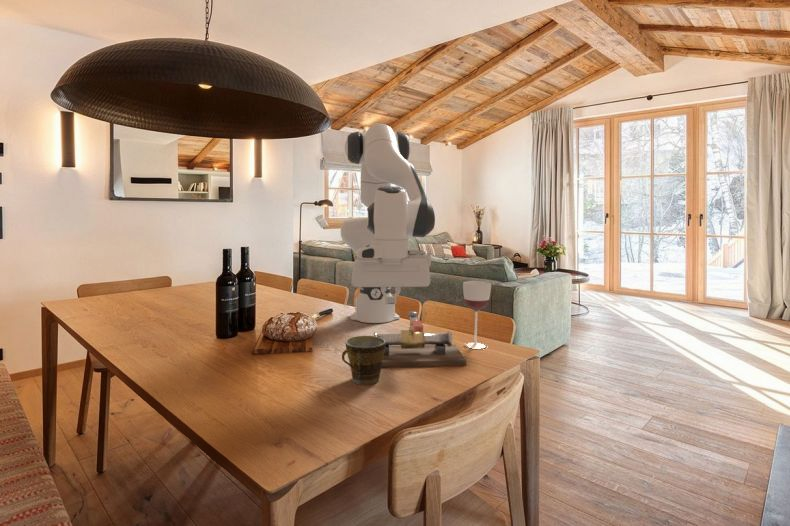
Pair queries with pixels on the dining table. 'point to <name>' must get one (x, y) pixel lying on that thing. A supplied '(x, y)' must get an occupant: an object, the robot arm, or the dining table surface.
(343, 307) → the dining table surface
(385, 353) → the pipe valve
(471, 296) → the wineglass
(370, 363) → the ceramic cup
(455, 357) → the walnut board
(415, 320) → the valve lever
